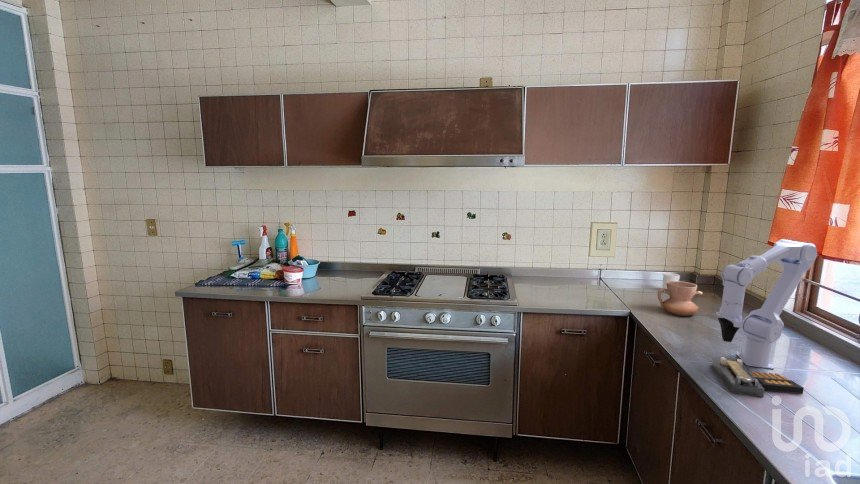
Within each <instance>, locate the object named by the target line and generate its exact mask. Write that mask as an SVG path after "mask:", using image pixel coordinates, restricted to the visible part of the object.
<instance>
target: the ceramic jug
mask: <svg viewBox="0 0 860 484" xmlns="http://www.w3.org/2000/svg"><path fill="white" fill-rule="evenodd" d="M697 289H698V285H697V284H696V283H693V282H689V281H681V280H679V281H667V289H665V288H663V287H662V288H659V290H657V299H658V301H659V302H660V307H661V308H662V309H663V310H664V311H666V312H667V313H669V314H672V315H676V316H679V317H680V316H681V317H682V316H683V317H685V316H687V317H690V316H693V315H695V314H697V312H698V310H699V308H700V307H699V306H697V304H696V303H694V302H693V301H692V299H693V298H694V296H695V295H700V296H702V295H703V291H700V290H697ZM663 291H664V292H663ZM665 292H666V293H665ZM662 293H665V294H667V295H668V296H669V298H667V299H665V300H664V301H663V299H662V295H661V294H662Z"/></svg>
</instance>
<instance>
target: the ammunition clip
mask: <svg viewBox="0 0 860 484" xmlns="http://www.w3.org/2000/svg"><path fill="white" fill-rule="evenodd" d="M750 373H751V374H752V375H753V376H754V378H755V379H757V380H758V381H759V383H760V384H761V386H762V387H763V388H764V389H765V390H764V391H770V392H771V391H772V392H780V393H781V392H782V393H790V394H804V390H805V388H804V387H803V386H802V385H800V384H798V383H796V381H794V380H791V379H789V378H787V377H785V376H783V375H781V374H780V373H778V372H775V373H772V372H765V371H762V372H761V371H754V370H750Z"/></svg>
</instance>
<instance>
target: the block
mask: <svg viewBox="0 0 860 484" xmlns="http://www.w3.org/2000/svg"><path fill="white" fill-rule="evenodd" d="M720 359H721V358H716V357H713V358H712V361H711V362H712V364H711V366H712V367H713V368H714V370H715V371H716V372H717V374H718V376H719V377H720V378H721V380H722V381H723V383H725V385H726V386H727V388H728V389H729V391H730V392H731V393H735V394H741V395H747V396H752V397H753V396H754V397H760V398H764V395H765V391H766V390H765V389H764V388H763V387H762V386H761V384H760V383H759V381H758V380H757V379H755V378H754V376H753V375H752V374H751V371H750V370H749V369H747V367H746V366H745V365H744V364H743V365H742V368H743V370H744V371H745V372H746V373H747V374H748V375H749V376H750V377H751V379H752V380H753V384H750V383H744V382H741V378H740V377H739V376H736V375H735V373H734V372H733V371H732V370H731V369H730V367H729V366H726V365H722V364H721V363H720ZM728 360H729V361H732V360H730V359H728ZM735 361H736V362H737V360H735Z"/></svg>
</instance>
